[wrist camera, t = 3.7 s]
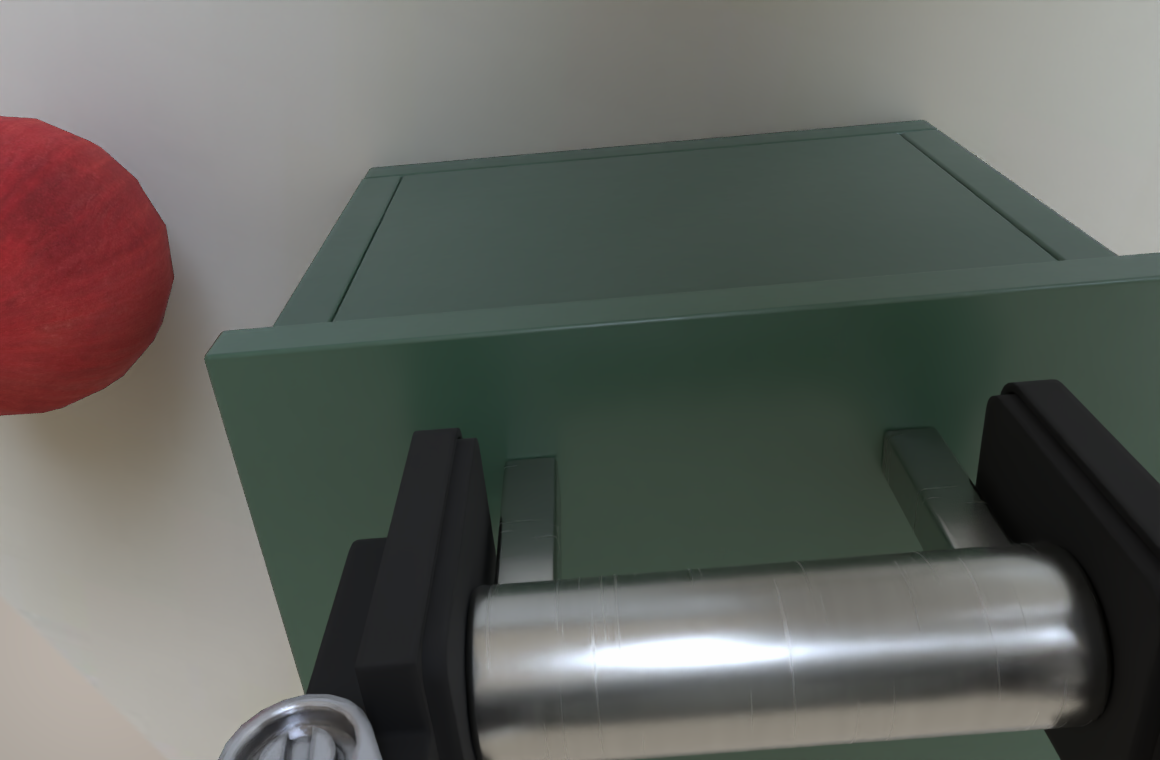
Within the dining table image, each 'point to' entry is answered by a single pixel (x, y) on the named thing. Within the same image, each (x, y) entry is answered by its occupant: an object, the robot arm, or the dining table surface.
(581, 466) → the bin lid
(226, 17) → the dining table surface
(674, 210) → the bin
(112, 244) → the onion
